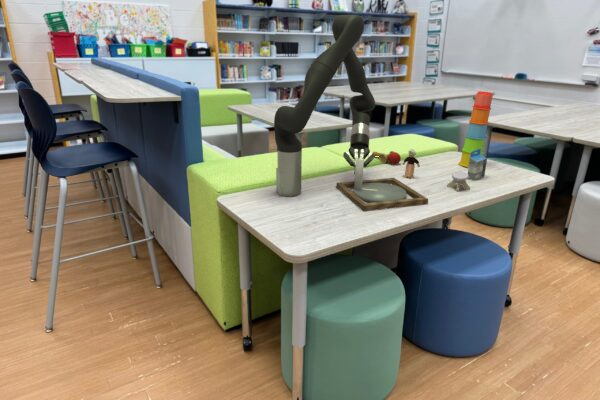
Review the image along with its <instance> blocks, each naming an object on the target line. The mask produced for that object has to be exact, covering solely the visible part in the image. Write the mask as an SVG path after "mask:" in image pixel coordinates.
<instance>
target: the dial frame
mask: <svg viewBox="0 0 600 400" xmlns="http://www.w3.org/2000/svg"><path fill="white" fill-rule="evenodd" d="M364 183H387V184H392V185H396V186H399V187H401V188H403V189H404V190H405V191H406V193H407V194H406V195H407V196H409V197H411V198H406V199H403V200H393V201H384V202H374V203H368V202H365V201H363V200H362V199H360V198H359V197H358V196H357V195H356V194H354V191H352V190H351V189H354V184H355V180H352V181H342V182H341V181H340V182H336V184H335V185H336V186H335V187H336V189H337V190H338V191H340V192H341V193H342V194H343V195H344V196H345V197H346V198H348V199H349V200H350V201H351V202H352V203H353V204H354V205H355V206H357V208H359V209H360V210H361V211H362V212H368V211H376V209H378V210H386V209H385V208H387V209H395V207H396V208H404V207H412V206H419V205H420V206H422V205H428V204H429V198H428V197H426V196H425V195H423V194H421V193H419V192H418V191H417V190H414V189H413V188H411V187H410V186H408V185H406V184H405V183H403V182H402V181H400V180H399V179H397V178H395V177H386V178H385V177H384V178H374V179H373V178H372V179H364V180H362V184H364Z"/></svg>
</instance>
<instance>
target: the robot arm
mask: <svg viewBox="0 0 600 400" xmlns="http://www.w3.org/2000/svg"><path fill="white" fill-rule="evenodd" d="M364 30H365V21H364V19H363V18H362V16H360V15H358V14H341V15H337V16H335V18H334V19H333V20H332V24H331V31H332V34H333V38H334V41H335V42H334V43H332V45H331V46H329V47H328V48H326V50H323V52H321V53H320V54H319V55H317V57H316V58H315V59H314V60H313V62H312V63H311V65H310V66H309V68H308V70H307V72H306V74H305V75H304V76H305V77H304V84H303V92H302V95H301V97H300V98H299V100H298V102H297V103H296V104H295V106H294V107H293V106H289V105H282V106H280V107H278V109H277V110H276V111H275V113H274V119H273V125H274V127H273V128H274V141H275V144H276V148H277V167H276V168H275V170H276V171H275V180H276V181H275V185H276V188H275V189H276V193H277V194H278V195H279V196H280V197H282V196H283V197H295V196H296V197H297V196H299V195H301V194H302V171H303V170H302V169H303V167H302V164H303V162H302V160H303V159H302V157H303V156H302V155H303V154H302V153H303V150H302V149H303V148H302V147H303V145H302V141H300V139H298V137H297V136H296V134H299V133H301V132H302V131H303V130H304V129H305V128H306V126H307V125H308V122H309V120H310V119H311V116H312V114H313V112H314V111H315V107H316V105H317V104H318V103H319V101H320V99H321V97H322V95H323V94H324V92H325V91H326V89H327V88H328V86H329V84H330V83H331V81H332V80H333V78H334V77H335V74H336V73H337V72H338V70H339V68H340V66H341V65H342V63H343V64H344V68H345V70H346V75H347V79H348V85H349V88H350V90H351V92H353V93H359V95H354V96H352V97H351V98H350V99H349V108H350V110H351V111H350V112H351V117H352V124H351V131H350V144H349V148H348V150H347V151H344V152H343V156H342V157H343V158H344V160H345V161H346V162H347V163H348V166H350V167H353V168H354V171H353V175H355V167H356V159H357V158H362V159H364V166H363V168H366V167H367V166H368V165H370V163H371V162H372V161H373V160H374V159H375V158H376V157H375V154H372V153H373V152H371V150H370V122H371V121H370V119H371V117H370V116H369V114H368V113H366V112H371V111H373V110H374V108H375V106H376V100H375V97H374V96H373V93H372V91H371V90H370V87H369V85H368V82H367V77H366V71H365V68H364V66H363V64H362V62H361V60H360V59H359V57H358V56H357V54H356V53H355V50H354V47H355V45H356V44H357V43H358V42H359V40H360V38H362V35H363V33H364Z"/></svg>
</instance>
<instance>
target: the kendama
mask: <svg viewBox="0 0 600 400" xmlns="http://www.w3.org/2000/svg"><path fill="white" fill-rule="evenodd" d="M371 153H372V154H375V156H379V157H380V158H379V159H380V161H381V163H382V164H387V162H389V164H390V165H393V166H394V165H398V164H399V163H400V162H401V159H402V157H401V155H400V153H398V152H395V151H394V150H390V151H389V152H388V154H386V153H382V152H378V151H372V152H371Z"/></svg>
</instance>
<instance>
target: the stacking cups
mask: <svg viewBox="0 0 600 400" xmlns="http://www.w3.org/2000/svg"><path fill="white" fill-rule="evenodd" d="M493 95H494V94H493V92H491V91H481V90H480V91H479V90H478V91H477V92H476V94H475V98H474V103H473V105H472V109H471V110H472V111H471V114H470V116H471V117H470V118H469V120H468V126H467V132H466V134H465V135H464V136H465V140H464V145H463V148H461V151H462V152H461V157H460V161H459V162H458V165H459V166H461V167H463V168H468V167H469V159H470V154H471V151H474V150H478V149H481V151H480V154H481V155H482V156H483V154H484V144H485V140H486V139H487V137H486V134H487V128H488V125H489V118H490V112H491V110H492V107H491V106H492V101H493ZM476 153H477V152H475V153H474V154H476Z"/></svg>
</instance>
